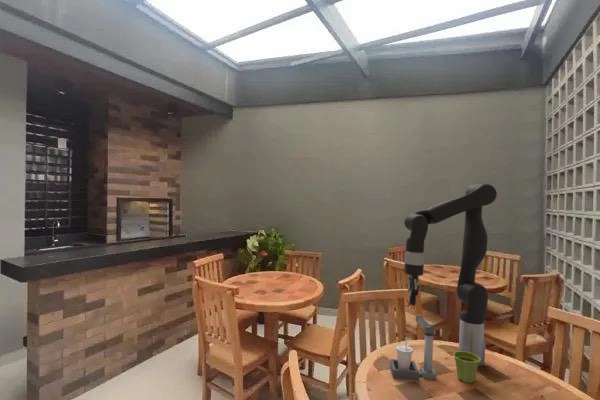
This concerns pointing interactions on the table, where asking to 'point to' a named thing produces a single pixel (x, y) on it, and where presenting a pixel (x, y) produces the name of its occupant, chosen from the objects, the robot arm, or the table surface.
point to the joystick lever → (425, 325)
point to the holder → (415, 373)
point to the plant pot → (466, 365)
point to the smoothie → (404, 356)
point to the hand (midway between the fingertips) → (412, 304)
